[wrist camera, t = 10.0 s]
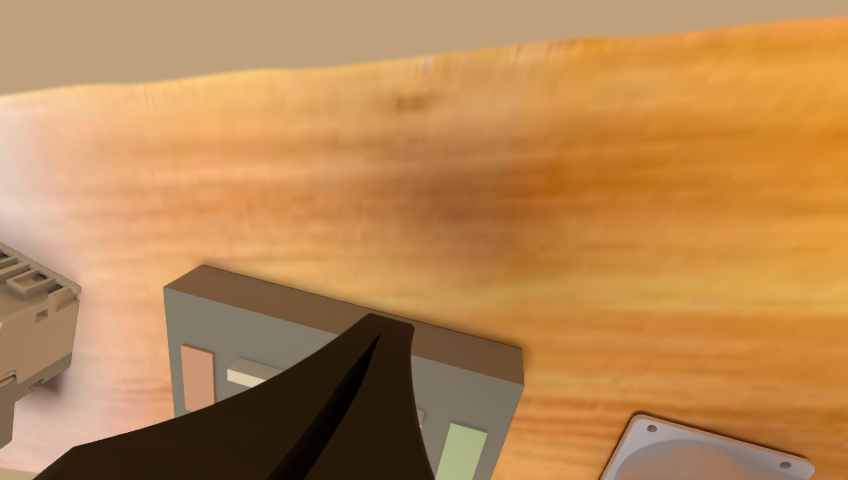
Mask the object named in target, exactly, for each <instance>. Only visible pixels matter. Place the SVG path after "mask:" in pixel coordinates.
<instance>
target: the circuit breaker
mask: <svg viewBox="0 0 848 480" xmlns="http://www.w3.org/2000/svg"><path fill="white" fill-rule="evenodd" d="M6 255H7V256H9V258H8V257H7V256H6ZM41 274H42V275H44V276H46V277H47V278H48V279H47V278H45V277H43V276H41ZM60 285H61V286H62V287H63V288H61V289H60ZM79 292H81V287H80V286H79V285H77V284H75V283H73V282H71V281H69V280H68V279H66V278H64V277H62V276H60V275H59V274H57V273H55V272H53V271H51V270H49V269H48V268H46V267H44V266H42V265H40V264H38V263H37V262H35V261H33V260H31V259H29V258H28V257H26V256H24V255H22V254H20V253H18V252H17V251H15V250H13V249H11V248H9V247H8V246H6V245H4V244H2V243H0V449H1V448H2V447H4V446H5V445H7V444H8V443H9V442H11V440H12V431H13V418H14V405H15V402H16V401H17V400H19V399H20V398H22V397H23V396H25V395H27V394H28V393H30V392H31V391H33V390H31V389H29V388H28V387H29V386H31V385H33V384H34V383H36V382H37V381H39V382H41V383H42V384H44V383H45V382H47V381H48V380H50V379H51V378H53V377H54V376H56V375H58V374H59V373H61V372H62V371H64V370H65V369H67V368H69V366H70V363H71V356H72V349H73V342H74V335H75V328H76V321H77V314H78V306H79V301H78V300H76V299H74V298H75V294H77V293H79Z"/></svg>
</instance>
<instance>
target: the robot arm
mask: <svg viewBox="0 0 848 480" xmlns="http://www.w3.org/2000/svg"><path fill="white" fill-rule="evenodd" d="M414 331H415V328H414V326H413V325H412V324H411V323H407V322H403V321H399V320H396V319H392V318H388V317H384V316H380V315H377V314H373V313H369V314H367V315H365V316H364V317H363V318H361V319H360V320H359V321H357V322H356V323H355V324H354V325H352V326H351V327H350V328H348V329H347V330H346V331H344V332H343V333H342V334H340V335H339V336H338V337H336V338H335V339H333V340H332V341H330V342H329V343H328V344H326V345H325V346H323V347H322V348H320V349H319V350H317V351H316V352H314V353H313V354H311V355H310V356H308V357H306V358H305V359H303V360H301V361H300V362H298V363H297V364H295V365H293V366H292V367H290V368H288V369H286V370H285V371H283V372H281V373H279V374H278V375H276V376H274V377H272V378H270V379H268V380H266V381H264V382H262V383H260V384H258V385H256V386H254V387H252V388H250V389H248V390H245V391H243V392H241V393H238V394H236V395H234V396H231V397H229V398H227V399H224V400H222V401H219V402H217V403H215V404H212V405H210V406H207V407H205V408H202V409H199V410H196V411H194V412H191V413H188V414H185V415H182V416H180V417H177V418H173V419H170V420H167V421H164V422H161V423H158V424H155V425H152V426H149V427H145V428H142V429H139V430H135V431H131V432H128V433H124V434H120V435H117V436H113V437H109V438H106V439H102V440H98V441H94V442H91V443H87V444H83V445H79V446H75V447H73V448H71V449H70V450H69V451H68V452H66V453H65V454H64V455H62V456H61V457H60V458H59V459H57V460H56V461H55V462H53V463H52V464H51V465H50V466H48V467H47V468H46V469H45V470H43V471H42V472H41V473H40V474H39V475H38V476H36V477H35V478H34V479H33V480H435V477H434V474H433V471H432V468H431V465H430V462H429V459H428V456H427V452H426V448H425V445H424V441H423V437H422V433H421V429H420V425H419V420H418V415H417V409H416V404H415V397H414V390H413V382H412V368H411V346H412V341H413V336H414ZM650 425H653V426H651V427H648V426H650ZM814 472H815V467H814V466H813V464H812V463H811V462H810V461H809V460H807V459H805V458H801V457H797V456H794V455H790V454H786V453H783V452H779V451H775V450H772V449H768V448H764V447H761V446H757V445H753V444H749V443H746V442H742V441H738V440H735V439H731V438H727V437H724V436H720V435H716V434H713V433H709V432H705V431H702V430H698V429H694V428H691V427H687V426H683V425H680V424H676V423H672V422H669V421H665V420H661V419H658V418H654V417H650V416H646V415H641V414H640V415H636V416H634V417H633V418H632V419H631V421H630V423H629V425H628V427H627V429H626V431H625V433H624V435H623V437H622V439H621V440H620V442H619V444H618V446H617V448H616V450H615V452H614V454H613V456H612V458H611V460H610V462H609V463H608V465H607V467H606V469H605V471H604V473H603V475H602V477H601V479H600V480H809V478H810V477H811V476H812V475H813V474H814Z"/></svg>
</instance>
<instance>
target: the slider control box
mask: <svg viewBox="0 0 848 480" xmlns="http://www.w3.org/2000/svg"><path fill="white" fill-rule="evenodd" d="M163 291H164V302H165V313H166V324H167V335H168V346H169V358H170V369H171V380H172V391H173V402H174V413H175V418H177V417H180V416H182V415H185V414H188V413H191V412H194V411H196V410H199V409H202V408H205V407H207V406H210V405H212V404H215V403H217V402H219V401H222V400H224V399H227V398H229V397H231V396H234V395H236V394H238V393H241V392H243V391H245V390H248V389H250V388H252V387H254V386H256V385H258V384H260V383H262V382H264V381H266V380H268V379H270V378H272V377H274V376H276V375H278V374H279V373H281V372H283V371H285V370H286V369H288V368H290V367H292V366H293V365H295V364H297V363H298V362H300V361H301V360H303V359H305V358H306V357H308V356H310V355H311V354H313V353H314V352H316V351H317V350H319V349H320V348H322V347H323V346H325V345H326V344H328V343H329V342H330V341H332V340H333V339H335V338H336V337H338V336H339V335H340V334H342V333H343V332H344V331H346V330H347V329H348V328H350V327H351V326H352V325H354V324H355V323H356V322H357V321H359V320H360V319H361V318H363V317H364V316H365V315H367V314H369V313H373V314H377V315H380V316H384V317H388V318H392V319H396V320H399V321H403V322H407V323H411V324H412V325H413V326H414V328H415V331H414V336H413V341H412V346H411V368H412V382H413V390H414V397H415V404H416V409H417V415H418V420H419V425H420V429H421V433H422V437H423V441H424V445H425V448H426V452H427V456H428V459H429V462H430V465H431V468H432V471H433V474H434V477H435V480H490V479H491V477H492V474H493V471H494V468H495V465H496V463H497V460H498V457H499V454H500V452H501V449H502V446H503V443H504V441H505V438H506V435H507V432H508V430H509V427H510V424H511V421H512V419H513V416H514V413H515V410H516V408H517V405H518V402H519V399H520V397H521V394H522V391H523V388H524V374H523V361H522V349H520V348H516V347H512V346H508V345H505V344H501V343H497V342H493V341H489V340H486V339H482V338H478V337H474V336H470V335H467V334H463V333H459V332H455V331H451V330H448V329H444V328H440V327H436V326H432V325H429V324H425V323H421V322H417V321H413V320H410V319H406V318H402V317H398V316H394V315H391V314H387V313H383V312H379V311H375V310H372V309H368V308H364V307H360V306H356V305H353V304H349V303H345V302H341V301H337V300H334V299H330V298H326V297H322V296H318V295H315V294H311V293H307V292H303V291H299V290H296V289H292V288H288V287H284V286H280V285H277V284H273V283H269V282H265V281H262V280H258V279H254V278H250V277H246V276H243V275H239V274H235V273H231V272H227V271H224V270H220V269H216V268H212V267H208V266H205V265H200V266H199V267H197V268H195V269H193V270H192V271H190V272H188V273H187V274H185V275H183V276H181V277H180V278H178V279H176V280H175V281H173V282H171V283H169V284H168V285H166V286H164V287H163Z"/></svg>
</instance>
